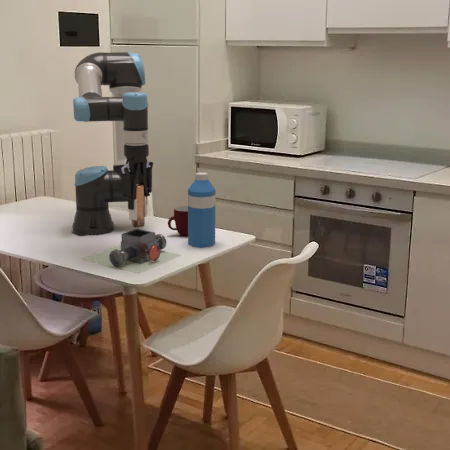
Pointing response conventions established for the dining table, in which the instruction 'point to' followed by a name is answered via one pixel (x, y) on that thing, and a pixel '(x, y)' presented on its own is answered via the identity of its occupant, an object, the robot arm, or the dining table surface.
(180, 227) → the mug
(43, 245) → the dining table surface
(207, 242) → the water bottle
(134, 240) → the metal mallet head
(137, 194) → the brown mallet handle
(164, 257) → the mat
